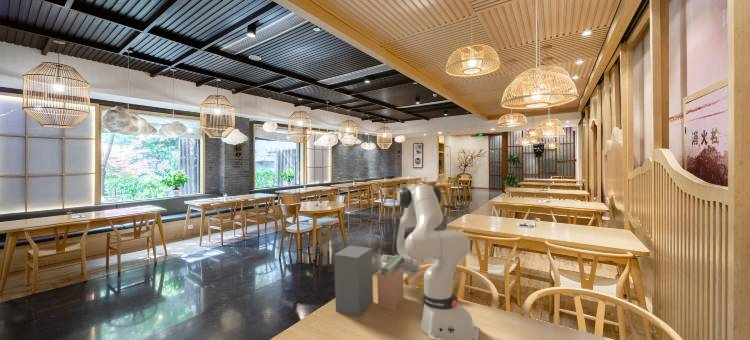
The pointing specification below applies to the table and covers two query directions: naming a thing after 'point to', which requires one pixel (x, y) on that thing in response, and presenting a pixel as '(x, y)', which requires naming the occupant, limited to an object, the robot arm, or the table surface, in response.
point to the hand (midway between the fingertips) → (396, 258)
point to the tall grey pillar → (353, 280)
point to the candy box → (421, 289)
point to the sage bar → (391, 265)
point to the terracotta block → (390, 289)
